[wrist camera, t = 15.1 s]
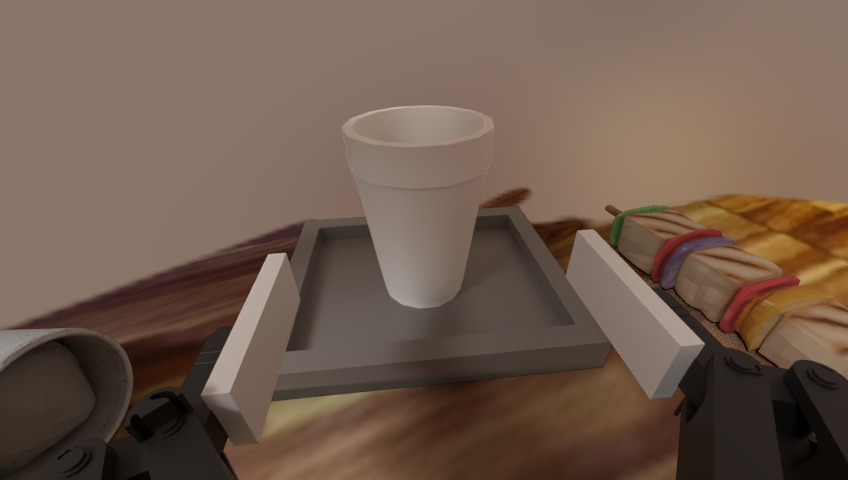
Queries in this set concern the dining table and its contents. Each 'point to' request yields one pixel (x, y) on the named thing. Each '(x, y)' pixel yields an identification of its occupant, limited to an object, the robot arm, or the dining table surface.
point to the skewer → (735, 287)
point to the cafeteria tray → (432, 314)
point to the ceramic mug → (57, 394)
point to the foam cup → (420, 193)
